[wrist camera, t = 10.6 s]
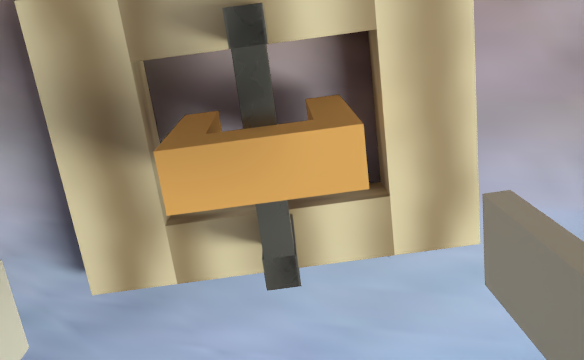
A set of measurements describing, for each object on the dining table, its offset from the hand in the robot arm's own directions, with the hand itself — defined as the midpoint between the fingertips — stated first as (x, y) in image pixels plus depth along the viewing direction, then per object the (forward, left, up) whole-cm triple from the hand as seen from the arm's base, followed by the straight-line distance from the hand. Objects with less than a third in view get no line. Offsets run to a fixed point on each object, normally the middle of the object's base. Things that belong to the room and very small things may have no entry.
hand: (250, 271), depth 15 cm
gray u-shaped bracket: (0, 0, -21) cm, 21 cm away
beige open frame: (0, 0, -21) cm, 21 cm away
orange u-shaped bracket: (0, 0, -19) cm, 19 cm away
